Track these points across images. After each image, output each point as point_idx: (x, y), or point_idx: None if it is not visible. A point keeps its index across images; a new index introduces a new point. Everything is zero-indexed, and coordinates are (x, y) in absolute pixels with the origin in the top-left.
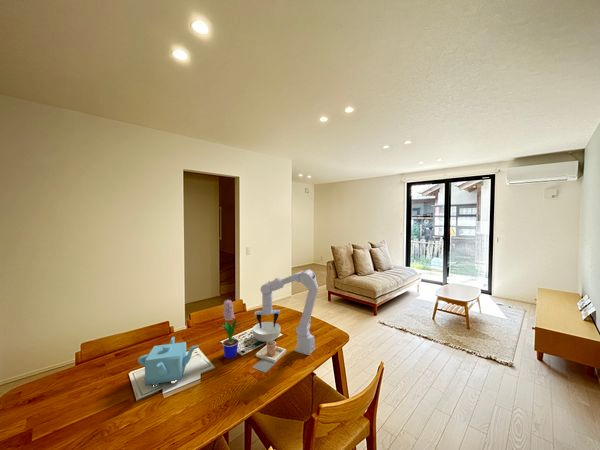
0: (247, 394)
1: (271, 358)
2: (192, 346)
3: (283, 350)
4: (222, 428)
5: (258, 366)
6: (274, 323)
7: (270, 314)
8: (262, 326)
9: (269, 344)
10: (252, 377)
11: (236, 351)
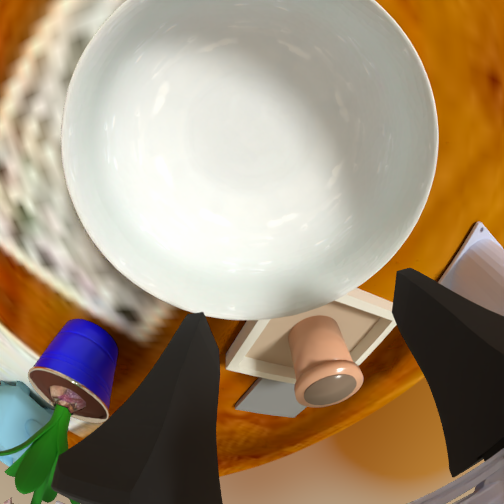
0: (252, 449)
1: None
2: None
3: (387, 327)
4: (231, 473)
5: (260, 403)
6: (424, 359)
7: (428, 496)
8: (168, 11)
9: (318, 404)
10: (249, 425)
11: (114, 369)
